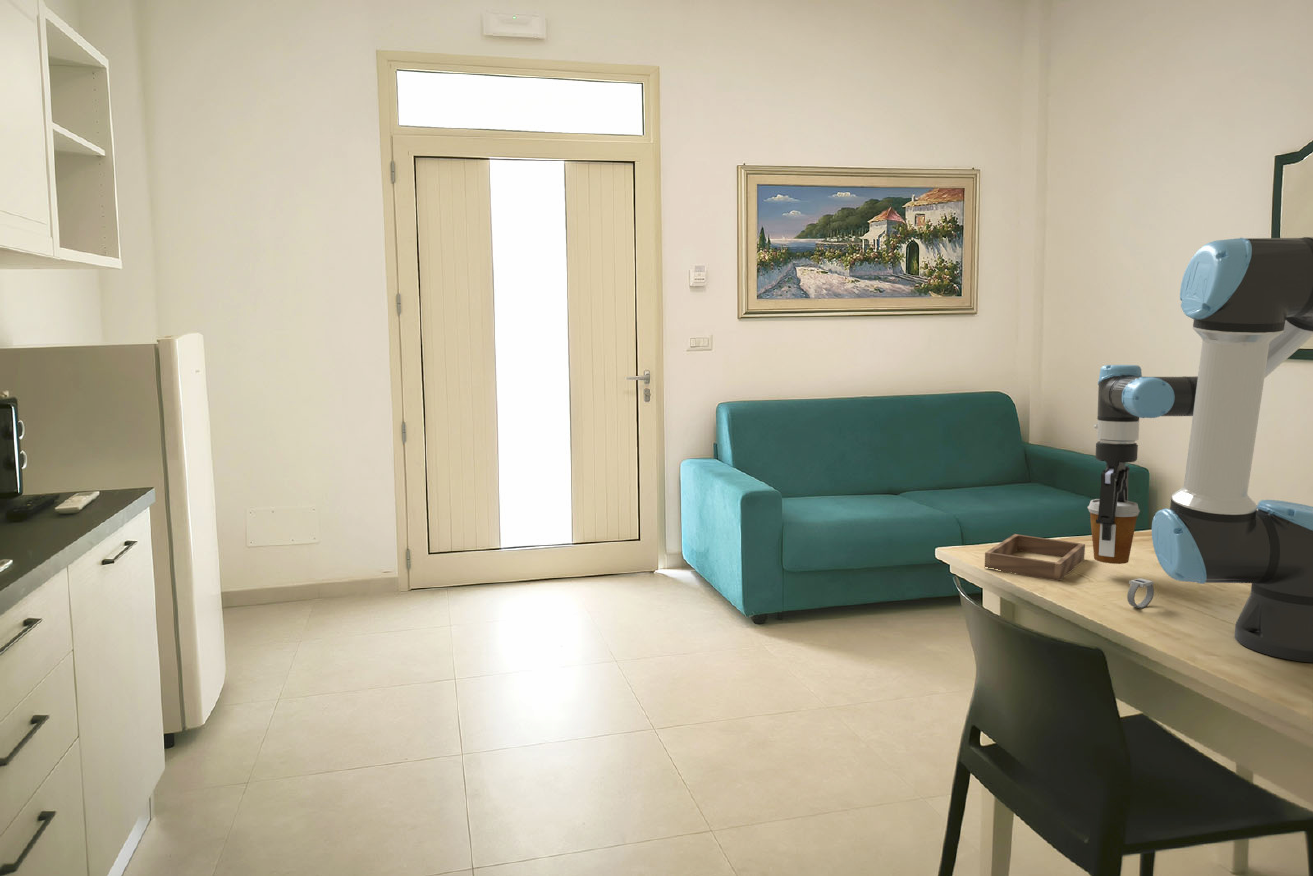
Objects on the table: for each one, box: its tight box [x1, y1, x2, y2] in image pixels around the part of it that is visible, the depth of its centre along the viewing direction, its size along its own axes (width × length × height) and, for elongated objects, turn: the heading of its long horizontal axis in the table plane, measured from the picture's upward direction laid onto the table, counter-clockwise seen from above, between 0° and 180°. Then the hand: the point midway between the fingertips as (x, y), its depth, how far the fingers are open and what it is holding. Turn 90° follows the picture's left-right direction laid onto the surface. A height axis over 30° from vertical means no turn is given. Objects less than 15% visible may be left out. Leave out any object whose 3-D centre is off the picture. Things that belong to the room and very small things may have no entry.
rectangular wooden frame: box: [984, 533, 1086, 582], centre depth 191 cm, size 20×15×4 cm
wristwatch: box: [1126, 577, 1155, 609], centre depth 162 cm, size 6×3×5 cm, turn 119°
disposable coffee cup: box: [1087, 498, 1141, 565], centre depth 180 cm, size 10×10×12 cm
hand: (1111, 551), depth 181 cm, fingers closed on disposable coffee cup, 8 cm apart
